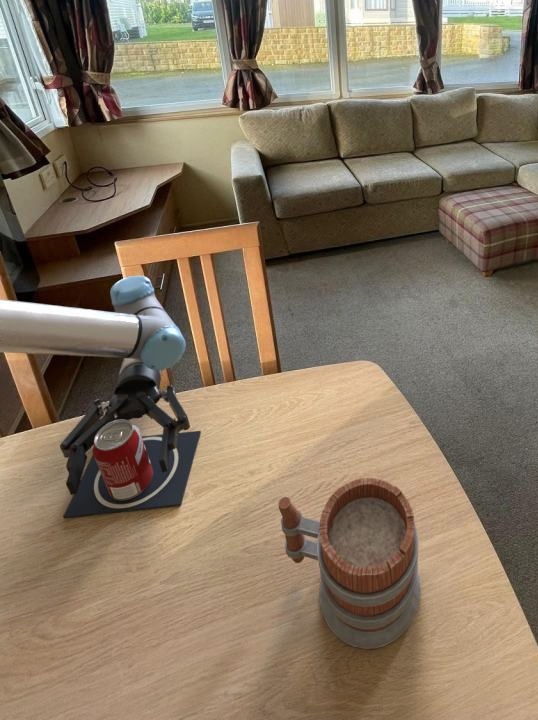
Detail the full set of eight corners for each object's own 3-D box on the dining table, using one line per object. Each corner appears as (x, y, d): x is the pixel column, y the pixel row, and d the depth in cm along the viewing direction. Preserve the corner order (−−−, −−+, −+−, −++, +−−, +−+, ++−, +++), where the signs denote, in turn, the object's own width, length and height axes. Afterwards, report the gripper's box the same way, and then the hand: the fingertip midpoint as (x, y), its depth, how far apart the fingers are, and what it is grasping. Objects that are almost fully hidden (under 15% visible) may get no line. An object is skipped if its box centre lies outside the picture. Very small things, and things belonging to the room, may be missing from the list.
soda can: (142, 503, 78) (124, 453, 72) (101, 503, 78) (79, 452, 73) (161, 465, 84) (145, 416, 79) (122, 464, 84) (104, 415, 79)
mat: (63, 518, 76) (62, 516, 76) (100, 441, 89) (99, 439, 89) (180, 505, 78) (180, 503, 78) (200, 432, 90) (200, 430, 90)
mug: (408, 667, 59) (409, 601, 53) (266, 619, 64) (251, 553, 57) (428, 548, 72) (431, 483, 65) (308, 515, 76) (299, 451, 70)
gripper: (209, 378, 98) (205, 472, 80) (75, 406, 92) (36, 514, 74) (203, 349, 95) (197, 440, 76) (63, 376, 89) (19, 483, 70)
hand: (118, 477), depth 75 cm, fingers open, 12 cm apart
